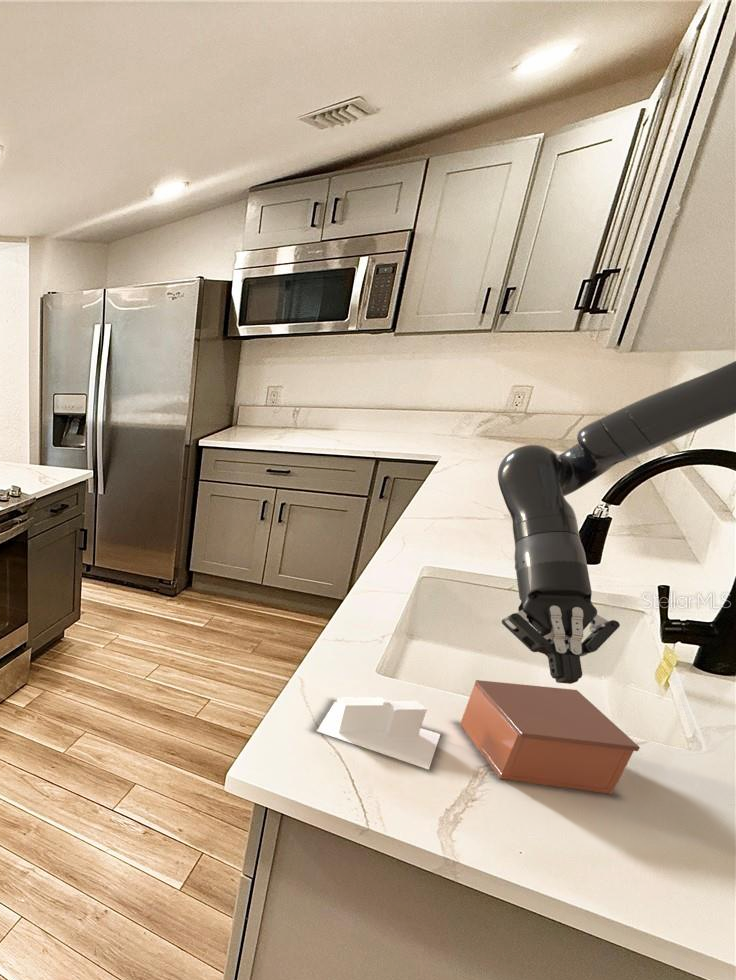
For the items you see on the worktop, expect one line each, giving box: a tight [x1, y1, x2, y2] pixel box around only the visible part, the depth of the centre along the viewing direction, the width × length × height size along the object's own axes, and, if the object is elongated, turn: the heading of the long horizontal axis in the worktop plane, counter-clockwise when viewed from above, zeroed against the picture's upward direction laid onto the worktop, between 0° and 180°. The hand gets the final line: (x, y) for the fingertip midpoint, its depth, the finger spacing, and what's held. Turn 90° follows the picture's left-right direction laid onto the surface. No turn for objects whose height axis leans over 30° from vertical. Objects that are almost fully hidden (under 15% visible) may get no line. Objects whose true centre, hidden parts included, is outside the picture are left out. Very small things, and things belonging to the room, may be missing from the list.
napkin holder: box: [316, 696, 441, 770], centre depth 98 cm, size 15×11×6 cm
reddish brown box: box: [459, 683, 634, 795], centre depth 91 cm, size 14×13×8 cm
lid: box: [474, 679, 641, 752], centre depth 89 cm, size 14×13×1 cm
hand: (567, 682), depth 86 cm, fingers closed
